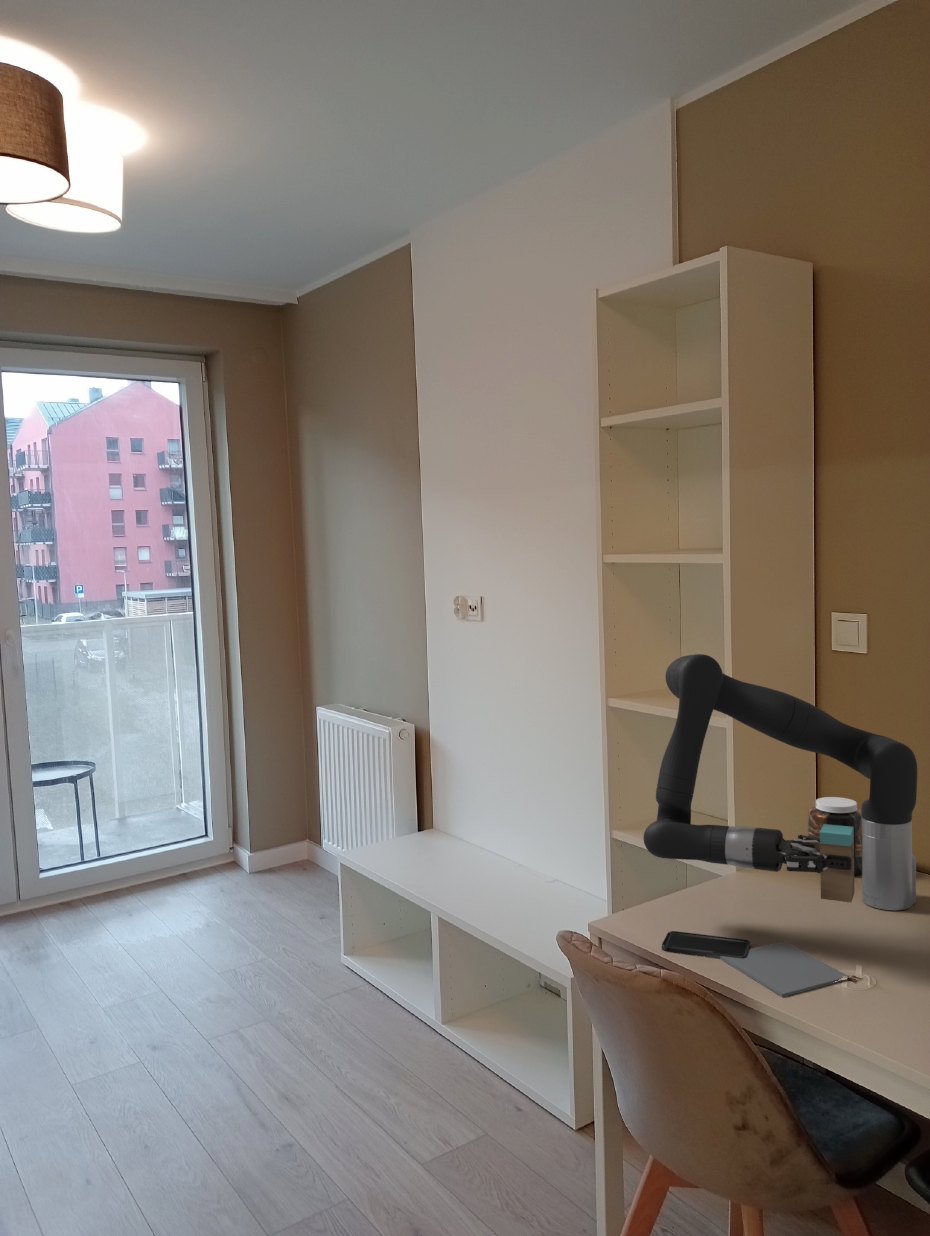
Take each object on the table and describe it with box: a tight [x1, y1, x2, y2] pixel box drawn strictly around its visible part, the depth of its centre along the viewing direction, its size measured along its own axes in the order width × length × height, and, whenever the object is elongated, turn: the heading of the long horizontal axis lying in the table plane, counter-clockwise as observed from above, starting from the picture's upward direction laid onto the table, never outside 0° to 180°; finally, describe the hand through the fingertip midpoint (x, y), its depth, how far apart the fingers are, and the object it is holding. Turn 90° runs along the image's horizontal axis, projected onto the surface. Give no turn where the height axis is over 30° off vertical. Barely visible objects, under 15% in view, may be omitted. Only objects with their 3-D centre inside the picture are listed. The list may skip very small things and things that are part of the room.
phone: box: [661, 930, 751, 960], centre depth 174 cm, size 8×1×15 cm
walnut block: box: [819, 824, 855, 903], centre depth 169 cm, size 5×5×12 cm
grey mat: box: [720, 940, 850, 998], centre depth 165 cm, size 14×16×1 cm
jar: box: [807, 796, 862, 877], centre depth 212 cm, size 12×12×15 cm
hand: (852, 858), depth 168 cm, fingers closed on walnut block, 5 cm apart
